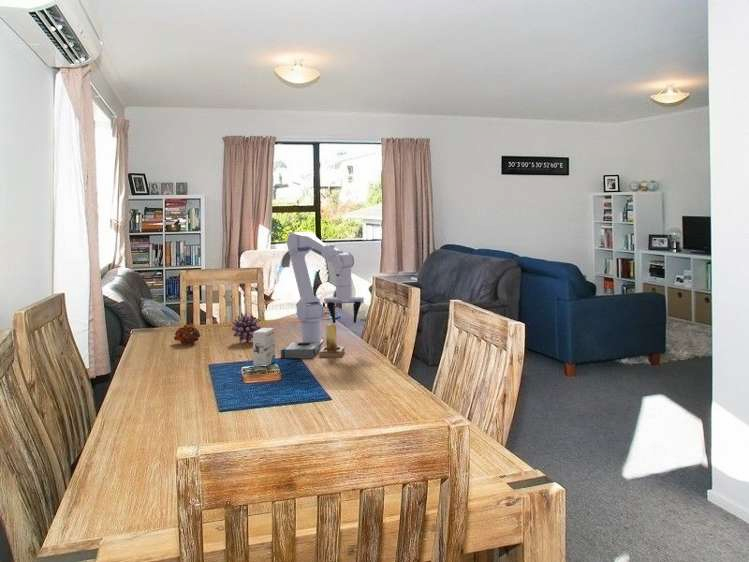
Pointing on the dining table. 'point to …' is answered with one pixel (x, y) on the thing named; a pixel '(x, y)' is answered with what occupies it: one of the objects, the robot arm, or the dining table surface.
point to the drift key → (283, 352)
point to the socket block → (302, 350)
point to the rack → (331, 352)
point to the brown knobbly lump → (187, 334)
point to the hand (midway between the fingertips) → (344, 322)
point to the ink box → (263, 346)
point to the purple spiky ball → (245, 327)
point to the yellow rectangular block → (331, 337)
